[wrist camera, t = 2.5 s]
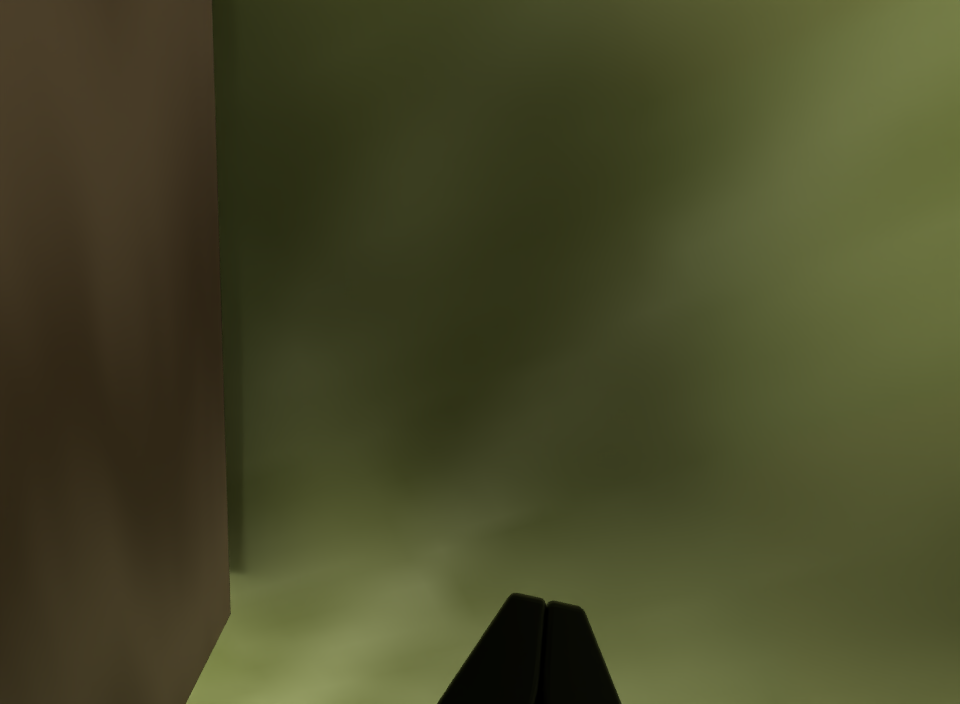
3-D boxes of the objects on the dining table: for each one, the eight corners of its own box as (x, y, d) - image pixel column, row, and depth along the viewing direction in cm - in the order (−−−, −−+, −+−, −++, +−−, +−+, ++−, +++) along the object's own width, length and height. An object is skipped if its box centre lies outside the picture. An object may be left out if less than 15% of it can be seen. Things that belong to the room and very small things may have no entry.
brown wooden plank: (241, 616, 15) (21, 1069, 10) (132, 592, 15) (-148, 1028, 10) (221, -389, 8) (-747, -860, 2) (8, -422, 8) (-1403, -953, 2)
